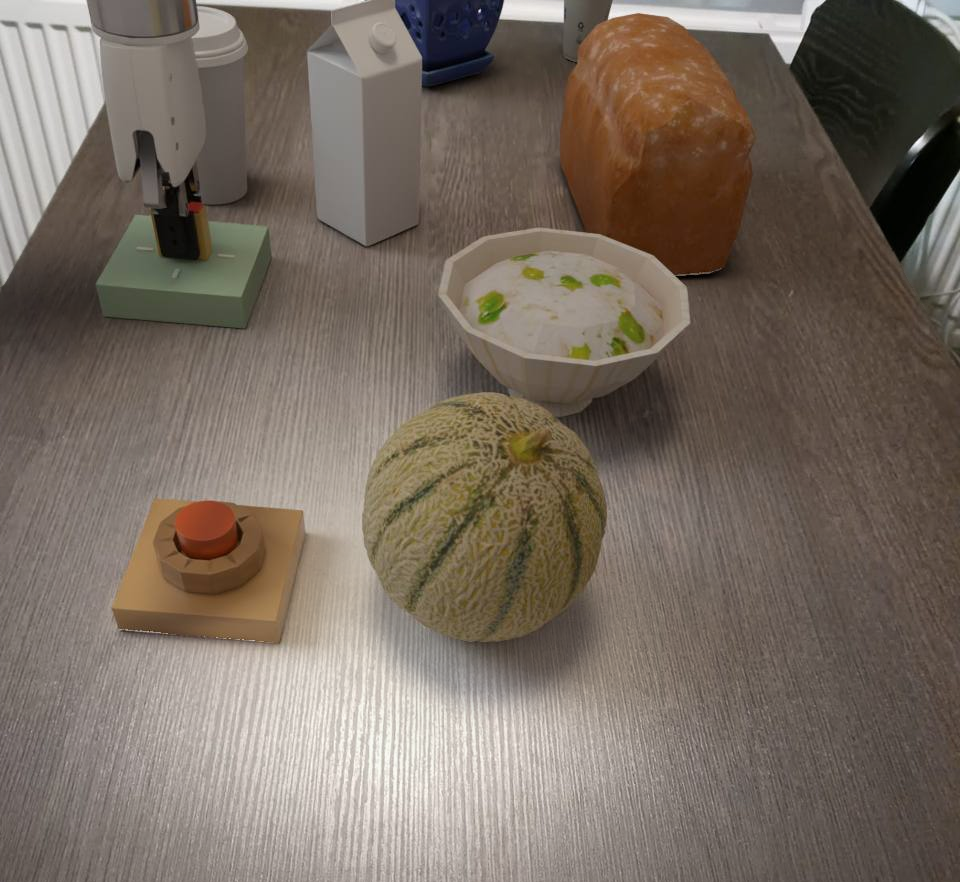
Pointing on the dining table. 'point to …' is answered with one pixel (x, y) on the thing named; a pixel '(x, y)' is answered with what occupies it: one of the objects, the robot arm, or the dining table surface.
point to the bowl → (562, 312)
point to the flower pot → (450, 35)
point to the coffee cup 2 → (581, 22)
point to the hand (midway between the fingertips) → (184, 247)
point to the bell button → (206, 530)
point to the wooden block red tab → (201, 228)
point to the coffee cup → (221, 107)
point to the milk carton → (366, 122)
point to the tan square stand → (213, 577)
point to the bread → (656, 143)
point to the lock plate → (186, 277)
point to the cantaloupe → (484, 517)
